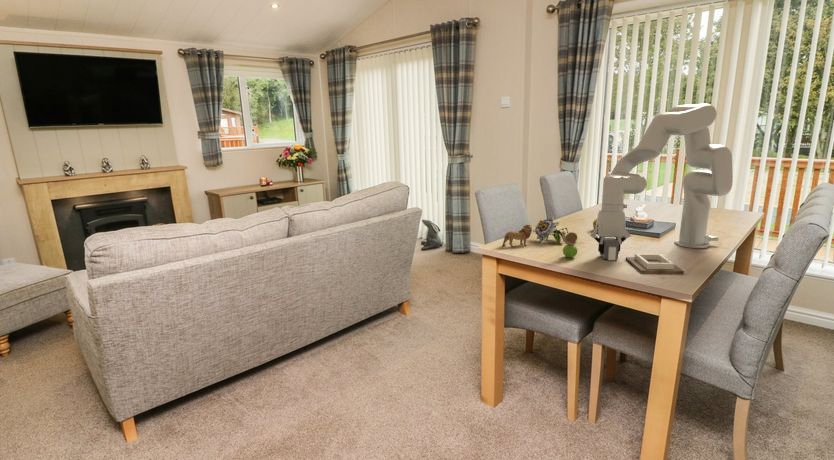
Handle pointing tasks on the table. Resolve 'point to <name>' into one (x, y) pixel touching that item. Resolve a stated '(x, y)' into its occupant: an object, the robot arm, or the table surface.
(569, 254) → the snail figurine
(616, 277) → the table surface
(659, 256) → the brown piece
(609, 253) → the grey rectangular block
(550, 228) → the passion flower
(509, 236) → the lion figurine
